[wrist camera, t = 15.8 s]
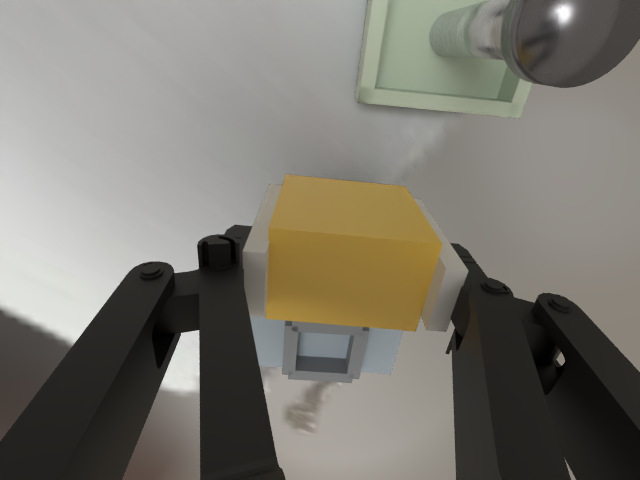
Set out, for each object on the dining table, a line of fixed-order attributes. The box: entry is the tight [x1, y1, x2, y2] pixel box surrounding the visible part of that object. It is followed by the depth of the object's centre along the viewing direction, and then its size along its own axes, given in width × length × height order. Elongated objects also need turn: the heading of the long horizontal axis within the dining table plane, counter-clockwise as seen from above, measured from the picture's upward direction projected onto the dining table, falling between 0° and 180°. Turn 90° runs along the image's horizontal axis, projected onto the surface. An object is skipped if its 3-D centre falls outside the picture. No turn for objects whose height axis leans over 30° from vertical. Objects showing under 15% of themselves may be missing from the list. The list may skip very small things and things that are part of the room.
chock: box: [266, 174, 443, 331], centre depth 15 cm, size 4×6×6 cm, turn 84°
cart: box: [250, 311, 403, 383], centre depth 29 cm, size 12×13×11 cm
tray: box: [355, 0, 533, 118], centre depth 24 cm, size 10×12×3 cm
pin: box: [429, 0, 640, 88], centre depth 18 cm, size 4×4×15 cm
